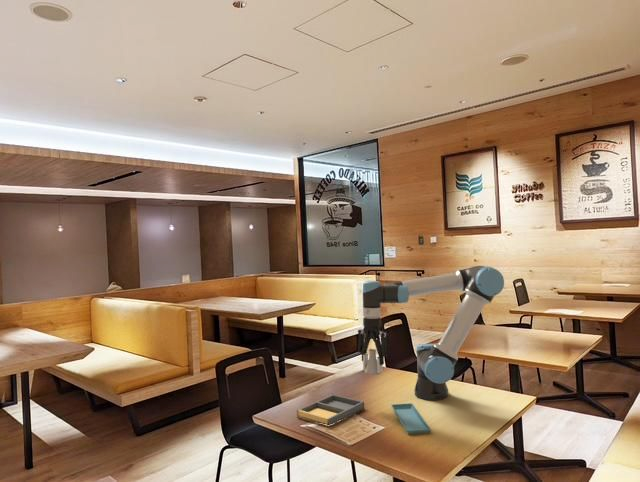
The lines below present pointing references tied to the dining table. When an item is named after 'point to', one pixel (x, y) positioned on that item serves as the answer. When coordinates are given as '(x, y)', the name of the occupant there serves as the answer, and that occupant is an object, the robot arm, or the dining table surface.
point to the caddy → (330, 409)
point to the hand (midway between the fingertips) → (372, 370)
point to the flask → (372, 363)
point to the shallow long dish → (411, 419)
